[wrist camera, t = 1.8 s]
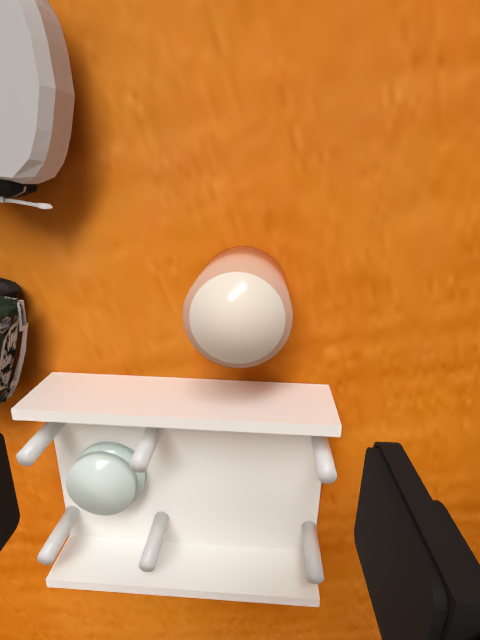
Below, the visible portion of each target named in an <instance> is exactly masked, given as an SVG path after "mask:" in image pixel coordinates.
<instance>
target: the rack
mask: <svg viewBox="0 0 480 640" xmlns="http://www.w3.org/2000/svg"><path fill="white" fill-rule="evenodd" d="M11 413H12V418H13V420H25V421H44V422H46V423H45V424H44V425H43V426H42V427H41V428H40V429H39V430H38V432H37V433H36V434H35V435H34V436H33V437H32V438H31V439H30V440H29V441H28V442H27V444H26V445H25V446H24V447H23V448H22V449H21V450H20V451H19V452H18V453H17V455H16V459H17V461H18V462H19V463H20V464H21V465H23V466H31V465H32V464H33V463H34V462H35V461H36V459H37V458H38V457H39V456H40V455H41V453H42V452H43V451H44V450H45V449H46V447H47V446H48V445H49V444H50V443H51V441H52V440H53V439H54V442H55V448H56V454H57V460H58V466H59V472H60V478H61V483H62V489H63V495H64V501H65V507H66V510H65V512H64V513H63V515H62V517H61V518H60V520H59V522H58V523H57V525H56V527H55V528H54V530H53V532H52V533H51V535H50V536H49V538H48V540H47V541H46V543H45V545H44V546H43V548H42V550H41V551H40V553H39V555H38V557H37V559H38V561H39V562H40V563H42V564H44V565H50V564H52V563H53V561H54V559H55V558H56V556H57V554H58V552H59V550H60V549H61V547H62V545H63V543H64V542H65V540H66V538H67V536H68V534H69V533H70V536H69V538H68V540H67V542H66V544H65V546H64V547H63V549H62V551H61V553H60V555H59V556H58V558H57V560H56V562H55V564H54V565H53V567H52V569H51V571H50V573H49V575H48V576H47V578H46V583H47V587H55V588H69V589H82V590H95V591H109V592H122V593H136V594H149V595H162V596H176V597H189V598H203V599H216V600H229V601H243V602H256V603H270V604H283V605H296V606H310V607H319V604H320V596H319V589H318V584H320V583H322V582H323V581H324V574H323V567H322V561H321V554H320V547H319V541H318V534H317V527H316V526H317V517H318V508H319V499H320V490H321V482H322V483H325V484H330V483H333V482H334V481H335V480H336V479H337V473H336V469H335V465H334V461H333V457H332V452H331V448H330V444H329V440H328V436H329V437H341V429H342V425H341V422H340V419H339V416H338V412H337V409H336V406H335V403H334V400H333V397H332V394H331V390H330V387H329V385H324V384H303V383H281V382H259V381H238V380H216V379H194V378H173V377H151V376H129V375H108V374H86V373H64V372H52V373H51V374H50V375H48V376H47V377H46V378H45V379H44V380H43V381H42V382H41V383H39V384H38V385H37V386H36V387H35V388H34V389H33V390H32V391H30V392H29V393H28V394H27V395H26V396H25V397H24V398H23V399H21V400H20V401H19V402H18V403H17V404H16V405H15V406H14V407H12V408H11ZM99 442H115V443H119V444H122V445H125V446H127V447H129V448H130V449H132V450H133V451H135V452H134V454H133V456H132V458H131V460H130V463H129V466H130V468H131V469H132V470H133V471H134V472H137V473H142V472H145V471H147V478H146V482H145V485H144V487H143V490H142V492H141V494H140V496H139V497H138V499H137V500H136V501H134V502H133V503H132V504H130V505H129V506H128V508H126V509H125V510H124V511H122V512H120V513H118V514H115V515H108V516H104V515H96V514H93V513H90V512H87V511H85V510H83V509H82V508H80V507H79V506H78V505H76V504H75V503H74V502H73V501H72V499H71V498H70V496H69V495H68V492H67V490H66V477H67V474H68V472H69V471H70V469H71V468H72V466H73V465H74V463H75V462H76V461H77V460H78V458H79V457H80V455H81V454H82V452H83V451H84V450H85V449H86V448H87V447H89V446H90V445H92V444H95V443H99Z"/></svg>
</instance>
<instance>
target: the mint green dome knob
mask: <svg viewBox="0 0 480 640" xmlns="http://www.w3.org/2000/svg"><path fill="white" fill-rule="evenodd" d="M134 452H135V451H133V450H132V449H130V448H129V447H127V446H125V445H122V444H119V443H115V442H99V443H95V444H92V445H90V446H89V447H87V448H86V449H85V450H84V451H83V452H82V454H81V455H80V457H79V458H78V460H77V461H76V462H75V463H74V465H73V466H72V468H71V469H70V471H69V472H68V474H67V477H66V490H67V492H68V495H69V496H70V498H71V499H72V501H73V502H74V503H75V504H76V505H78V506H79V507H80V508H82V509H83V510H85V511H87V512H90V513H93V514H96V515H104V516H108V515H115V514H118V513H120V512H122V511H124V510H125V509H126V508H128V506H129V505H130V504H132V503H133V502H134V501H136V500H137V499H138V497H139V496H140V494H141V492H142V490H143V487H144V485H145V482H146V478H147V471H145V472H142V473H137V472H134V471H133V470H132V469H131V468H130V466H129V463H130V460H131V458H132V456H133V454H134Z"/></svg>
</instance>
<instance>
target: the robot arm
mask: <svg viewBox="0 0 480 640" xmlns="http://www.w3.org/2000/svg"><path fill="white" fill-rule="evenodd" d="M19 519H20V512H19V507H18V503H17V498H16V493H15V488H14V483H13V479H12V474H11V469H10V464H9V460H8V455H7V450H6V445H5V440H4V437H3V435H2V434H1V433H0V551H1V550H2V548H3V547H4V545H5V544H6V543H7V541H8V540H9V538H10V537H11V535H12V534H13V533H14V531H15V530H16V528H17V526H18V523H19ZM354 537H355V544H356V548H357V552H358V555H359V559H360V562H361V566H362V570H363V573H364V577H365V580H366V584H367V587H368V591H369V594H370V598H371V602H372V605H373V609H374V612H375V616H376V619H377V623H378V626H379V630H380V634H381V637H382V640H480V565H479V563H478V561H477V560H476V558H475V556H474V555H473V553H472V551H471V550H470V548H469V546H468V544H467V543H466V541H465V539H464V538H463V536H462V534H461V533H460V531H459V529H458V528H457V526H456V524H455V523H454V521H453V519H452V518H451V516H450V514H449V513H448V511H447V509H446V508H445V506H444V505H443V504H442V503H441V502H439V501H438V500H432V498H431V496H430V495H429V493H428V491H427V489H426V488H425V486H424V484H423V482H422V481H421V479H420V477H419V475H418V474H417V472H416V470H415V468H414V467H413V465H412V463H411V461H410V459H409V458H408V456H407V454H406V452H405V451H404V449H403V447H402V446H401V444H400V443H394V442H375V444H374V446H373V448H370V447H368V448H367V450H366V455H365V461H364V468H363V475H362V481H361V488H360V495H359V502H358V508H357V515H356V522H355V529H354Z"/></svg>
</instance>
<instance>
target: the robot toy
mask: <svg viewBox="0 0 480 640" xmlns="http://www.w3.org/2000/svg"><path fill="white" fill-rule="evenodd" d="M74 101H75V93H74V87H73V80H72V74H71V68H70V61H69V55H68V50H67V46H66V43H65V39H64V35H63V31H62V28H61V25H60V23H59V20H58V17H57V16H56V14H55V12H54V10H53V9H52V7H51V5H50V4H49V2H48V0H0V202H1V203H11V202H12V203H18V204H23V205H29V206H35V207H38V208H41V209H52V208H53V207H52V206H51V204H46V203H36V202H30V201H24V200H18V199H12V198H11V197H20V196H24V195H27V194H30V193H33V192H35V191H36V189H37V186H38V184H39V183H42V182H45V181H47V180H50V179H52V178H55V176H56V175H57V173H58V172H59V170H60V168H61V167H62V165H63V164H64V161H65V158H66V155H67V151H68V147H69V142H70V138H71V130H72V121H73V111H74Z"/></svg>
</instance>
